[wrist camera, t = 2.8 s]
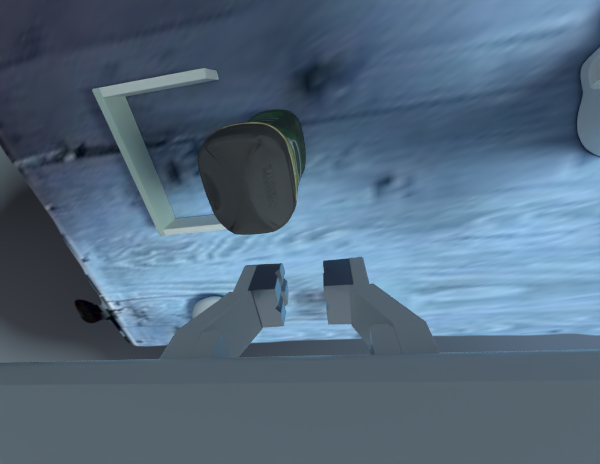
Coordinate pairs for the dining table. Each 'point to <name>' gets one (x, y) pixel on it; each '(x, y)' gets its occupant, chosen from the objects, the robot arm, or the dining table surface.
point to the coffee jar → (254, 172)
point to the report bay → (137, 153)
